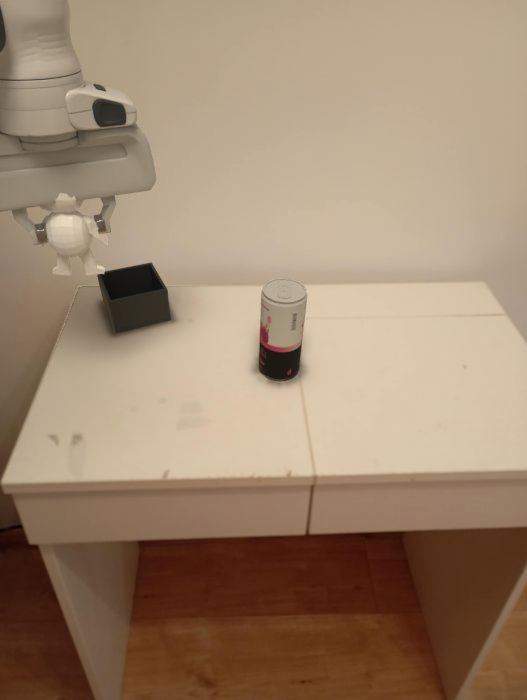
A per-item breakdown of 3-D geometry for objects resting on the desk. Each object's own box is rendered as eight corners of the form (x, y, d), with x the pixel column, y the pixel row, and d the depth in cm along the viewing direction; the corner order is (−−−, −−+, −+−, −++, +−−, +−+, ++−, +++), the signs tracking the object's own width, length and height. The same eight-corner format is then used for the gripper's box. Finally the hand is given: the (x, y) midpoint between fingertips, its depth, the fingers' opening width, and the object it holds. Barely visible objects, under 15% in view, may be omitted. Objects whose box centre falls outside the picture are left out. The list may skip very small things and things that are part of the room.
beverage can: (256, 380, 74) (259, 301, 64) (260, 353, 79) (263, 275, 69) (298, 383, 73) (307, 304, 64) (299, 356, 78) (307, 278, 69)
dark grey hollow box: (115, 333, 81) (108, 302, 77) (103, 302, 88) (96, 272, 84) (171, 319, 85) (167, 289, 81) (155, 291, 92) (151, 262, 87)
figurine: (116, 263, 59) (97, 166, 51) (109, 283, 56) (87, 182, 48) (51, 263, 59) (21, 166, 51) (40, 283, 55) (6, 182, 47)
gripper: (-88, 123, 40) (-27, 267, 49) (151, 104, 47) (166, 233, 56) (-82, 105, 44) (-27, 240, 53) (136, 90, 51) (152, 212, 60)
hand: (73, 236), depth 54 cm, fingers closed on figurine, 5 cm apart
